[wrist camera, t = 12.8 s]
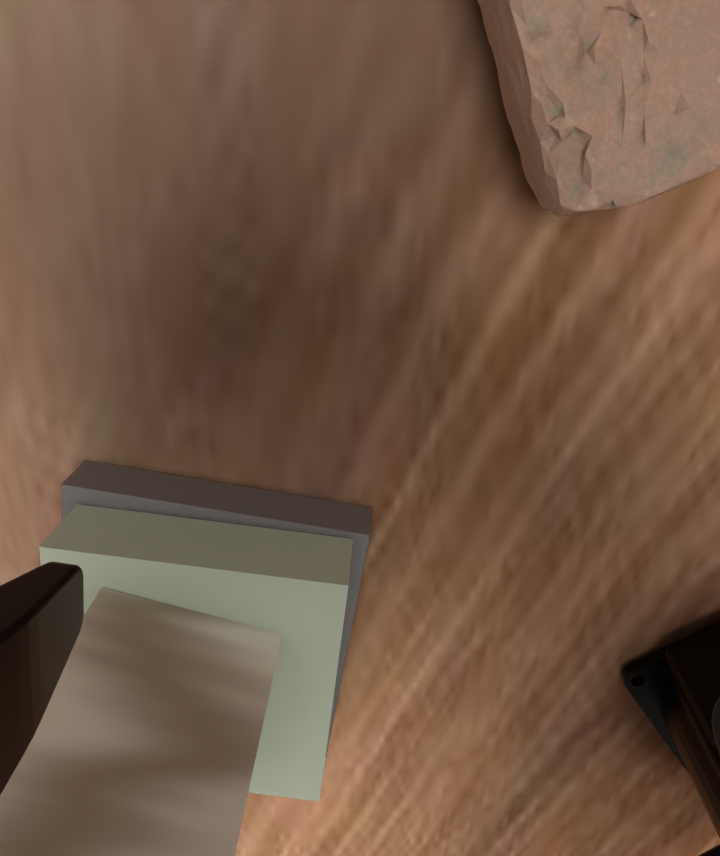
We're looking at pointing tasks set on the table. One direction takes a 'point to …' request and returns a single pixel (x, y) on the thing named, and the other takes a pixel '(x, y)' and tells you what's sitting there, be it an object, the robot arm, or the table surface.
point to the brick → (608, 95)
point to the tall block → (144, 737)
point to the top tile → (234, 610)
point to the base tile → (227, 515)
